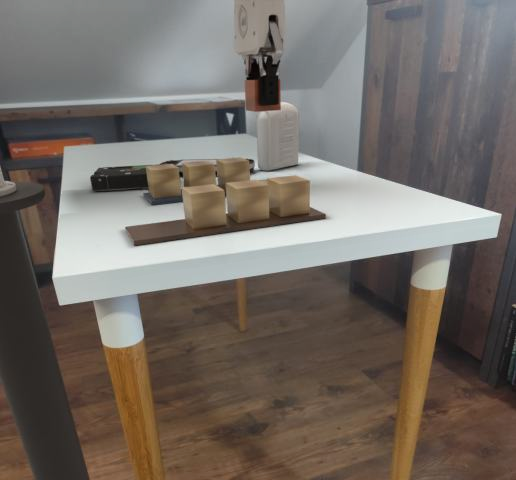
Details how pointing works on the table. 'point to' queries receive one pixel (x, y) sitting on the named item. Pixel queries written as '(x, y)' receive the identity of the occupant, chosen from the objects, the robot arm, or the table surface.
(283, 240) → the table surface
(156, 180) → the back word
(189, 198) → the front word
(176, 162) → the gaming console
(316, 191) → the table surface
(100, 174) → the disk drive
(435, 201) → the table surface
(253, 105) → the reddish wooden cube
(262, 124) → the white rounded slab
